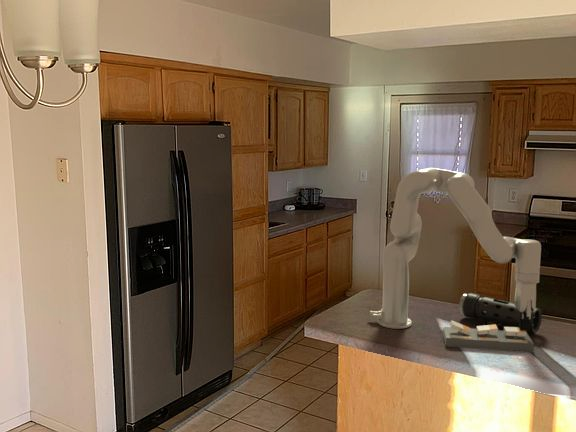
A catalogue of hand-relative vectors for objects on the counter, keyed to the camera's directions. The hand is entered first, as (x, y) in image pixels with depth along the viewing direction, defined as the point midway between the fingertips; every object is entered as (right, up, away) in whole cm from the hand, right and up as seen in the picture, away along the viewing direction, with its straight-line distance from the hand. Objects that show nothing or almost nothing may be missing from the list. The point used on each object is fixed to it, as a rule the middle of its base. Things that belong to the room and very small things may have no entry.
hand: (524, 329), depth 194 cm
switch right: (-3, -1, +1) cm, 3 cm away
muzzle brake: (-2, -3, +20) cm, 21 cm away
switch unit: (-12, -5, +3) cm, 13 cm away
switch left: (-21, 0, +4) cm, 21 cm away
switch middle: (-12, 0, +2) cm, 12 cm away
